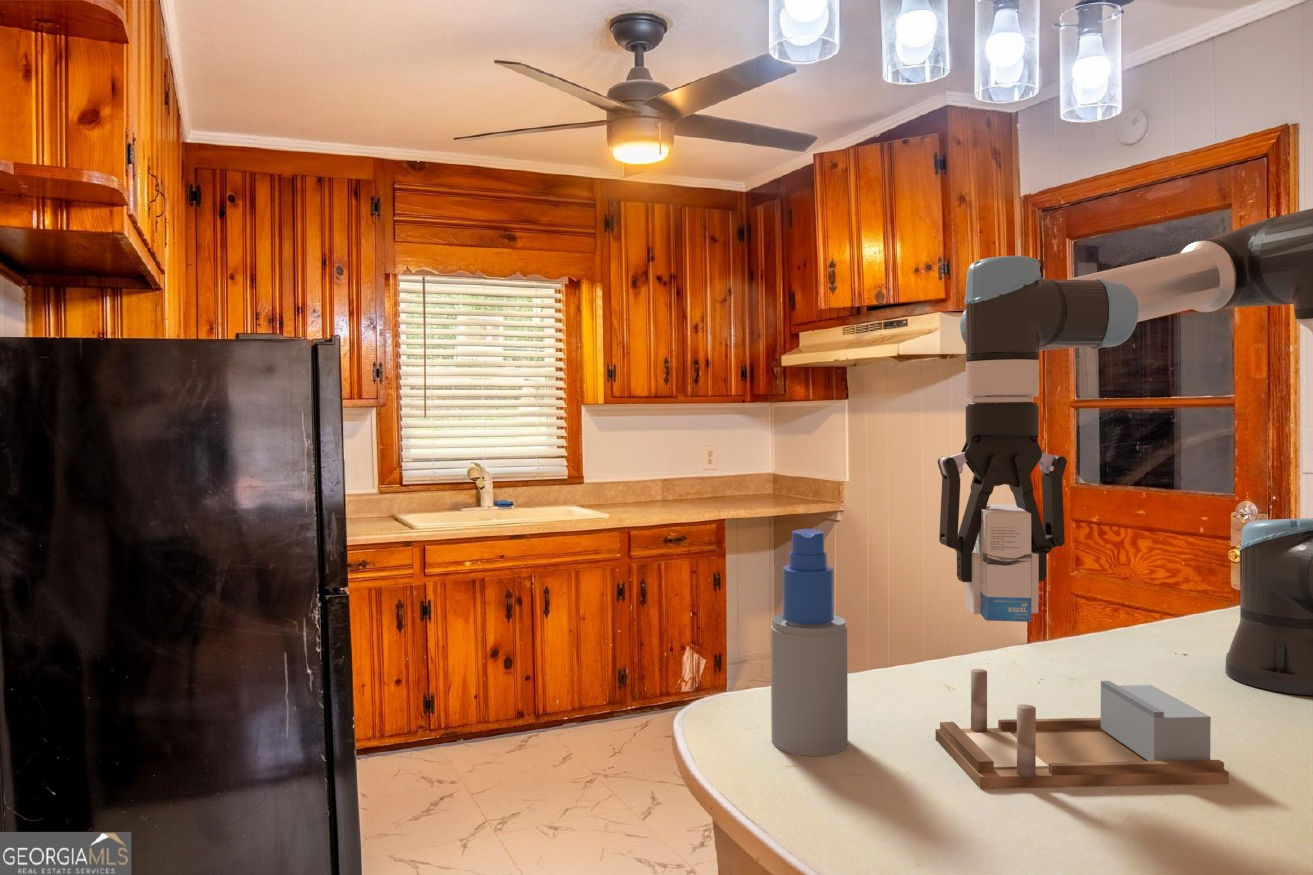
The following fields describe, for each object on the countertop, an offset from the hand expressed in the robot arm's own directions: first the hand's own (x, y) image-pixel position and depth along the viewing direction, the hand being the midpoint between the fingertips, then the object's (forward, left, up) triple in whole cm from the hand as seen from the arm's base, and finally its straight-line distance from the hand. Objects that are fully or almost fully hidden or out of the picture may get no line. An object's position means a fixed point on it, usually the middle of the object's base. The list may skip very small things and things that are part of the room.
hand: (1001, 610), depth 101 cm
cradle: (-8, 0, -17) cm, 19 cm away
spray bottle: (+20, -7, -17) cm, 27 cm away
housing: (-17, 0, -15) cm, 23 cm away
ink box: (0, 0, -1) cm, 1 cm away
